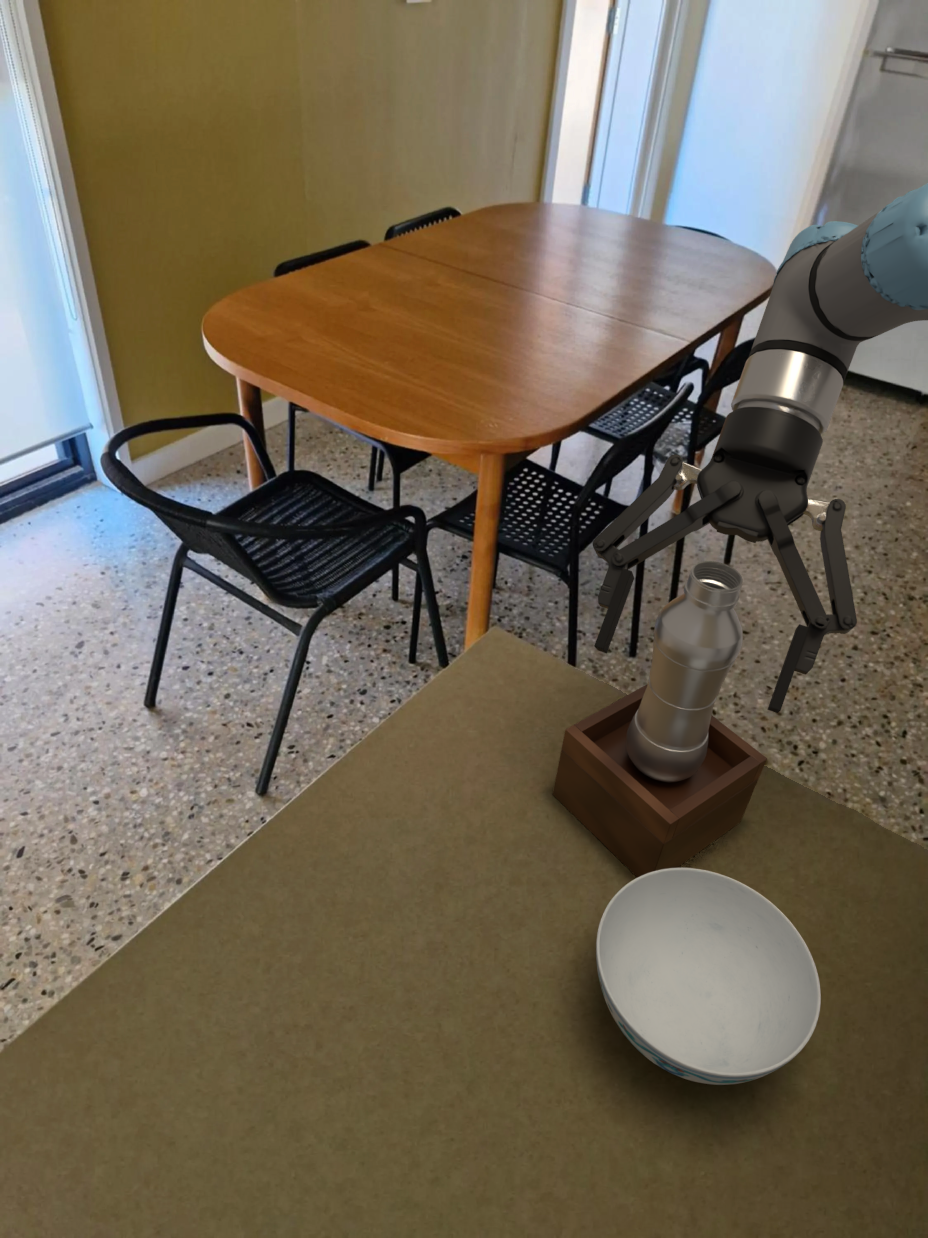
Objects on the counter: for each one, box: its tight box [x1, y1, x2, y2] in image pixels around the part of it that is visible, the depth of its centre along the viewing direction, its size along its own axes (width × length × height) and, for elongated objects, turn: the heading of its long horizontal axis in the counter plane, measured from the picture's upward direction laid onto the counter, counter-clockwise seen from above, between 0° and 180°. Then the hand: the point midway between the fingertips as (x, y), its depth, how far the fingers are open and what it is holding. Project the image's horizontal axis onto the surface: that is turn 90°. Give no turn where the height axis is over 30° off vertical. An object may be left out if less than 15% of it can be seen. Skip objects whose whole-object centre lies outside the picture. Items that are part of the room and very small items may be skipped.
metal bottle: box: [627, 560, 744, 782], centre depth 70 cm, size 6×7×20 cm
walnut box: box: [552, 683, 768, 878], centre depth 77 cm, size 12×12×8 cm
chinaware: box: [595, 867, 822, 1086], centre depth 63 cm, size 15×15×8 cm
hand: (684, 679), depth 68 cm, fingers open, 13 cm apart
